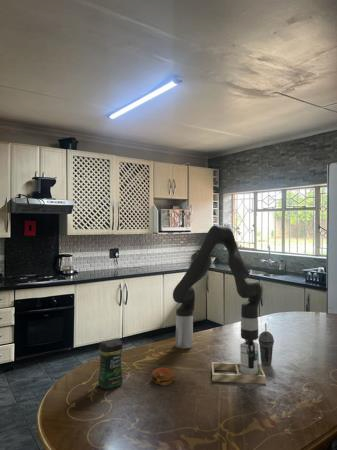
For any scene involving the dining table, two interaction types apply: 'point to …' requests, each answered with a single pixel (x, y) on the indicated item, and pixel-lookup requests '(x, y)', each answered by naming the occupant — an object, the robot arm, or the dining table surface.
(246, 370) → the syrup box
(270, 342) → the beverage cup
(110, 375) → the coffee jar
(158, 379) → the burger
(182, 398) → the dining table surface
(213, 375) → the wooden frame
